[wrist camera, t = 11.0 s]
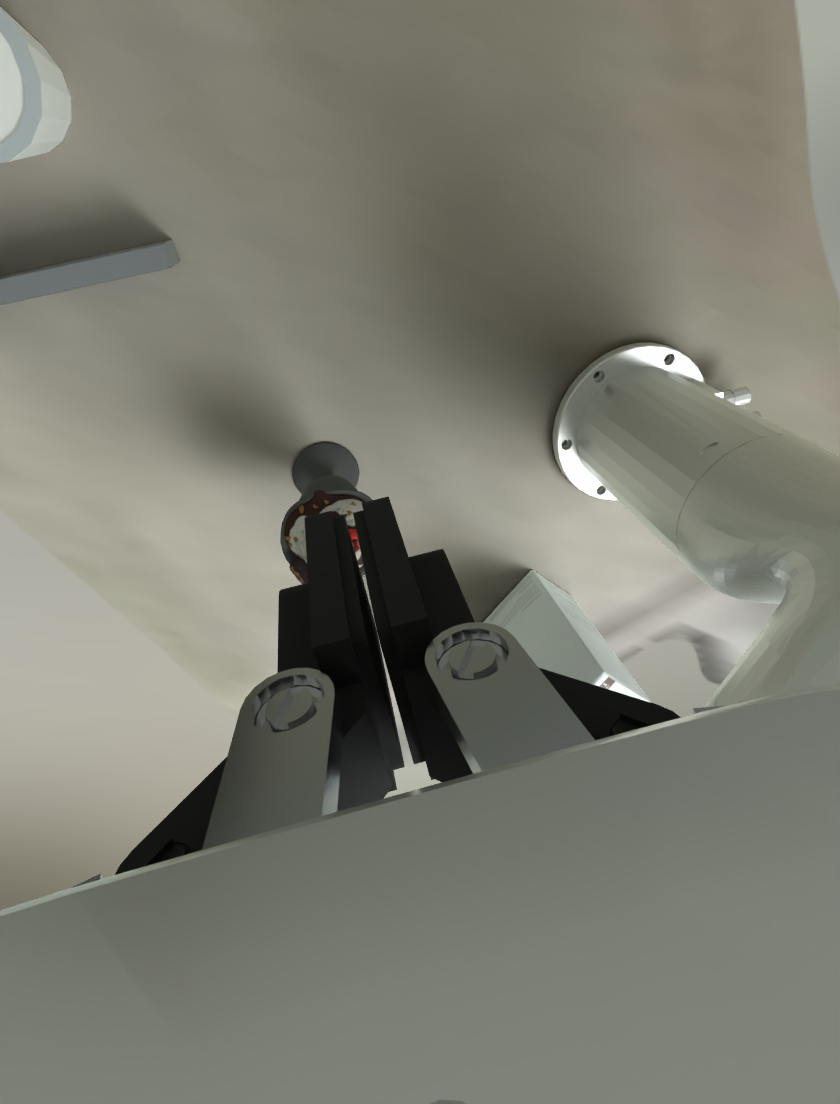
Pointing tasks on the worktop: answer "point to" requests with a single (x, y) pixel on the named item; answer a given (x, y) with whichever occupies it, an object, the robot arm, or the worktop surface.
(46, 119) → the shot glass
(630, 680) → the skincare box
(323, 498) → the sundae
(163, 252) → the box
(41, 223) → the worktop surface
